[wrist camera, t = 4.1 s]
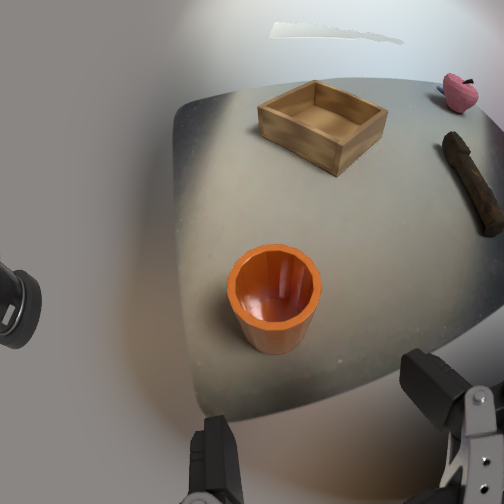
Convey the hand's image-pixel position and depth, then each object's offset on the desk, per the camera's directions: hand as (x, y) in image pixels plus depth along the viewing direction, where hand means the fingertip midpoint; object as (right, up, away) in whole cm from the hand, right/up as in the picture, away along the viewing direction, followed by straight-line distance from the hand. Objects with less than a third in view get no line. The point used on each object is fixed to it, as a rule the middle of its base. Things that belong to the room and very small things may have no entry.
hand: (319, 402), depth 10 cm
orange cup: (-1, 0, +14) cm, 14 cm away
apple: (+44, +39, +33) cm, 68 cm away
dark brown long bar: (+29, +16, +21) cm, 39 cm away
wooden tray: (+8, +24, +27) cm, 37 cm away
